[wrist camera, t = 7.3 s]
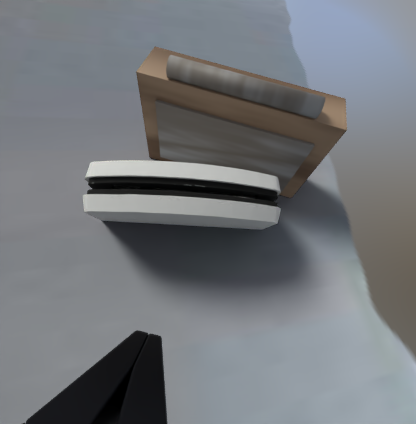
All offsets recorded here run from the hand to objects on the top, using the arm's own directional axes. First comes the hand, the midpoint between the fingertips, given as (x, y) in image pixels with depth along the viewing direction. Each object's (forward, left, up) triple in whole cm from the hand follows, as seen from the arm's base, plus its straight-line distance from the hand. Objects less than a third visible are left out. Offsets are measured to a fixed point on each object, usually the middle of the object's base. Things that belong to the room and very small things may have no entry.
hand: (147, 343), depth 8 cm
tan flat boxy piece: (+19, 0, -13) cm, 23 cm away
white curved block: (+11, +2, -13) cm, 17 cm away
